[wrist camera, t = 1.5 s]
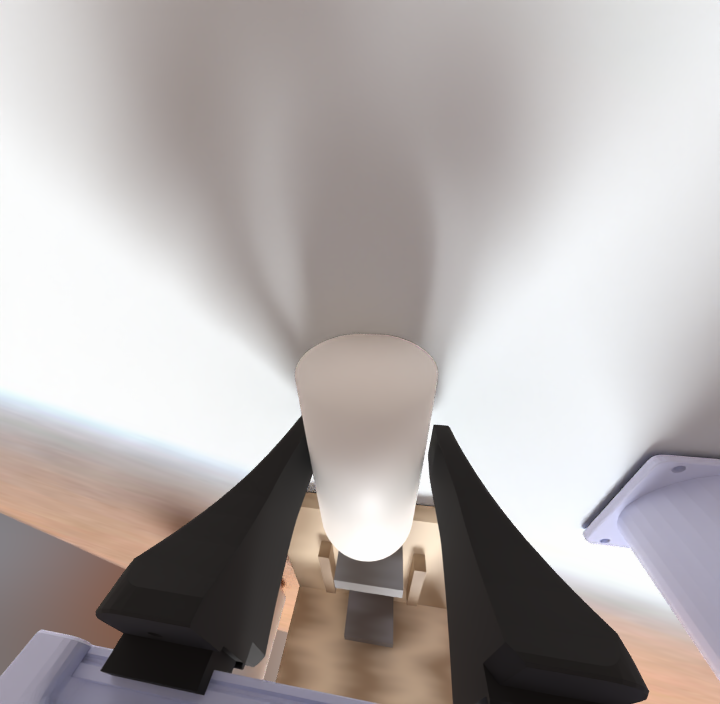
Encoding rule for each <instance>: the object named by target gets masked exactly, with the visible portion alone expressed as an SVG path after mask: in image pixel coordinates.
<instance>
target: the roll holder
mask: <svg viewBox="0 0 720 704" xmlns="http://www.w3.org/2000/svg"><path fill="white" fill-rule="evenodd" d="M288 556H289V559H290V561H291V564H292V567H293V569H294V572H295V575H296V577H297V580H298V583H299V585H300V587H299V591H298V595H297V599H296V603H295V607H294V611H293V615H292V619H291V623H290V627H289V631H288V635H287V639H286V643H285V647H284V651H283V655H282V659H281V663H280V667H279V671H278V675H277V679H276V683H280V684H285V685H290V686H295V687H300V688H305V689H310V690H315V691H319V692H324V693H329V694H334V695H339V696H344V697H349V698H354V699H359V700H363V701H368V702H373V703H378V704H453V699H452V682H451V665H450V649H449V633H448V620H447V606H446V594H445V582H444V570H443V559H442V549H441V541H440V534H439V528H438V522H437V517H436V511H435V507H433V506H424V505H416V506H415V512H414V517H413V523H412V527H411V530H410V533H409V535H408V537H407V539H406V541H405V542H404V543H403V545H402V546H401V547H400V548H399V549H398V550H397V551H396V552H395V553H393V554H392V555H390V556H388V557H386V558H384V559H381V560H377V561H370V562H369V561H359V560H355V559H352V558H350V557H348V556H346V555H344V554H343V553H341V552H340V551H339V550H337V549H336V547H335V546H334V545H333V544H332V543H331V541H330V540H329V538H328V537H327V535H326V533H325V530H324V527H323V523H322V518H321V513H320V508H319V502H318V497H317V493H310V492H306V494H305V497H304V500H303V503H302V506H301V508H300V511H299V514H298V517H297V520H296V524H295V527H294V531H293V535H292V539H291V543H290V547H289V550H288Z"/></svg>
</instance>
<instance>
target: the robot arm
mask: <svg viewBox="0 0 720 704" xmlns="http://www.w3.org/2000/svg"><path fill="white" fill-rule="evenodd" d="M428 461H429V475H430V483H431V488H432V494H433V500H434V505H435V511H436V517H437V522H438V528H439V534H440V541H441V549H442V559H443V570H444V582H445V594H446V606H447V620H448V633H449V649H450V665H451V682H452V699H453V704H633V703H637V702H641V701H643V700H646V699H647V697H648V693H649V690H648V688H647V686H646V684H645V683H644V681H643V679H642V677H641V675H640V673H639V671H638V669H637V667H636V665H635V663H634V661H633V659H632V658H631V656H630V654H629V652H628V651H627V649H626V647H625V646H624V644H623V642H622V641H621V639H620V637H619V636H618V634H617V633H616V632H615V631H614V630H613V629H612V628H611V627H610V626H609V625H608V624H607V623H606V622H605V621H604V620H603V619H602V618H601V617H600V616H598V615H597V614H596V613H595V612H594V611H593V610H592V609H591V608H590V607H589V606H588V605H587V604H586V603H585V602H584V601H583V600H582V599H581V598H580V597H579V596H578V595H577V594H576V593H575V592H574V591H573V590H572V589H571V588H570V587H569V586H568V585H567V584H566V583H565V581H564V580H563V579H562V578H561V577H560V576H559V575H558V574H557V573H556V572H555V571H554V570H553V569H552V568H551V567H550V566H549V565H548V563H547V562H546V561H545V560H544V559H543V558H542V557H541V556H540V555H539V553H538V552H537V551H536V550H535V549H534V548H533V547H532V546H531V545H530V543H529V542H528V541H527V540H526V539H525V538H524V537H523V535H522V534H521V533H520V532H519V531H518V529H517V528H516V527H515V526H514V525H513V523H512V522H511V521H510V520H509V518H508V517H507V516H506V515H505V513H504V512H503V511H502V509H501V508H500V507H499V505H498V504H497V503H496V501H495V500H494V499H493V497H492V496H491V495H490V493H489V492H488V490H487V489H486V487H485V486H484V485H483V483H482V482H481V480H480V479H479V477H478V476H477V474H476V473H475V471H474V469H473V468H472V466H471V465H470V463H469V461H468V460H467V458H466V456H465V455H464V453H463V451H462V450H461V448H460V446H459V444H458V443H457V441H456V439H455V437H454V435H453V433H452V431H451V429H450V427H449V426H444V425H434V426H433V431H432V436H431V442H430V447H429V452H428ZM312 474H313V471H312V465H311V460H310V455H309V449H308V444H307V439H306V434H305V428H304V423H303V418H302V416H301V417H300V418H299V419H298V420H297V422H296V423H295V424H294V425H293V427H292V428H291V429H290V430H289V431H288V432H287V434H286V435H285V436H284V437H283V438H282V439H281V441H280V442H279V443H278V444H277V445H276V446H275V447H274V448H273V449H272V451H271V452H270V453H269V454H268V455H267V456H266V457H265V458H264V459H263V460H262V461H261V462H260V463H259V464H258V465H257V466H256V467H255V468H254V469H253V470H252V471H251V472H250V473H249V474H248V475H247V476H246V477H245V478H244V479H242V480H241V481H240V482H239V483H238V484H237V485H236V486H235V487H233V488H232V489H231V490H230V491H229V492H227V493H226V494H225V495H224V496H223V497H221V498H220V499H219V500H218V501H217V502H215V503H214V504H213V505H212V506H210V507H209V508H208V509H206V510H205V511H204V512H202V513H201V514H200V515H198V516H197V517H195V518H194V519H193V520H191V521H190V522H189V523H187V524H186V525H185V526H183V527H182V528H180V529H179V530H177V531H176V532H175V533H173V534H172V535H170V536H169V537H167V538H166V539H164V540H162V541H161V542H159V543H158V544H156V545H155V546H153V547H152V548H150V549H149V550H147V551H146V552H144V553H142V554H141V555H139V556H138V557H136V558H134V560H133V561H132V562H131V563H130V565H129V566H128V567H127V569H126V570H125V571H124V572H123V574H122V575H121V577H120V578H119V579H118V581H117V582H116V584H115V585H114V586H113V588H112V589H111V591H110V592H109V593H108V595H107V596H106V597H105V599H104V600H103V602H102V603H101V604H100V606H99V607H98V609H97V610H96V616H97V618H98V619H100V620H101V621H103V622H105V623H106V624H108V625H110V626H112V627H114V628H115V629H117V630H119V631H121V632H122V633H123V635H122V637H121V638H120V640H119V641H118V643H117V645H116V647H115V648H114V649H109V648H104V647H99V646H94V645H91V643H90V642H88V641H86V640H84V639H81V638H78V637H75V636H71V635H66V634H61V633H56V632H51V631H46V630H40V631H38V632H37V633H36V634H35V635H34V636H33V638H32V639H31V640H30V641H29V643H28V644H27V645H26V646H25V647H24V649H23V650H22V651H21V652H20V653H19V655H18V656H17V657H16V658H15V659H14V661H13V662H12V663H11V664H10V666H9V667H8V668H7V669H6V670H5V672H4V673H3V674H2V675H1V676H0V704H378V703H373V702H368V701H363V700H359V699H354V698H349V697H344V696H339V695H334V694H329V693H324V692H319V691H315V690H310V689H305V688H300V687H295V686H290V685H285V684H280V683H275V682H271V681H266V680H261V679H256V678H251V677H246V676H241V675H236V674H232V671H233V668H235V669H240V670H243V669H244V667H245V665H246V666H251V667H255V666H256V665H258V664H259V663H260V662H261V661H262V659H263V658H264V657H265V655H266V650H267V645H268V640H269V635H270V630H271V625H272V621H273V616H274V611H275V606H276V602H277V597H278V593H279V589H280V584H281V580H282V575H283V571H284V567H285V563H286V559H287V555H288V550H289V547H290V543H291V539H292V535H293V531H294V527H295V524H296V520H297V517H298V514H299V511H300V508H301V506H302V503H303V500H304V497H305V494H306V491H307V488H308V486H309V483H310V480H311V477H312ZM583 536H584V537H585V539H586V541H588V542H589V543H595V544H603V545H611V546H619V547H627V548H631V549H632V551H633V552H634V554H635V555H636V557H637V558H638V560H639V561H640V563H641V564H642V566H643V567H644V569H645V570H646V572H647V573H648V575H649V576H650V578H651V579H652V581H653V582H654V584H655V585H656V587H657V588H658V590H659V591H660V593H661V594H662V596H663V597H664V599H665V600H666V602H667V603H668V605H669V606H670V608H671V609H672V611H673V612H674V614H675V615H676V617H677V618H678V620H679V621H680V623H681V624H682V626H683V627H684V629H685V630H686V632H687V633H688V635H689V636H690V638H691V639H692V641H693V642H694V644H695V645H696V647H697V648H698V650H699V651H700V653H701V654H702V656H703V657H704V659H705V660H706V662H707V663H708V665H709V666H710V668H711V669H712V671H713V672H714V674H715V675H716V677H717V678H718V680H719V681H720V459H712V458H700V457H687V456H675V455H656V456H653V457H651V458H650V459H649V460H648V461H647V462H646V463H645V464H644V465H643V466H642V467H641V468H640V469H639V471H638V472H637V473H636V474H635V475H634V476H633V477H632V478H631V479H630V481H629V482H628V483H627V484H626V485H625V486H624V487H623V488H622V489H621V491H620V492H619V493H618V494H617V495H616V496H615V497H614V498H613V499H612V501H611V502H610V503H609V504H608V505H607V506H606V507H605V508H604V509H603V511H602V512H601V513H600V514H599V515H598V516H597V517H596V518H595V519H594V521H593V522H592V523H591V524H590V525H589V526H588V527H587V528H586V529H585V531H584V532H583Z"/></svg>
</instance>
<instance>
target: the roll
mask: <svg viewBox="0 0 720 704" xmlns="http://www.w3.org/2000/svg"><path fill="white" fill-rule="evenodd" d="M295 381H296V386H297V391H298V397H299V402H300V407H301V413H302V418H303V423H304V428H305V434H306V439H307V444H308V449H309V455H310V460H311V465H312V471H313V476H314V481H315V486H316V492H317V497H318V502H319V508H320V513H321V518H322V523H323V527H324V530H325V533H326V535H327V537H328V538H329V540H330V541H331V543H332V544H333V545H334V546H335V547H336V549H337V550H339V551H340V552H341V553H343V554H344V555H346V556H348V557H350V558H352V559H355V560H359V561H369V562H370V561H377V560H381V559H384V558H386V557H388V556H390V555H392V554H393V553H395V552H396V551H397V550H398V549H399V548H400V547H401V546H402V545H403V543H404V542H405V541H406V539H407V537H408V535H409V533H410V530H411V527H412V523H413V517H414V512H415V506H416V500H417V494H418V489H419V483H420V477H421V472H422V466H423V460H424V455H425V449H426V443H427V437H428V432H429V426H430V420H431V415H432V409H433V403H434V398H435V392H436V386H437V381H438V369H437V366H436V363H435V361H434V360H433V358H432V357H431V356H430V355H429V354H428V353H427V352H426V351H425V350H424V349H422V348H421V347H419V346H418V345H416V344H414V343H412V342H410V341H407V340H405V339H402V338H399V337H395V336H391V335H381V334H349V335H343V336H339V337H335V338H332V339H329V340H326V341H324V342H321V343H320V344H318V345H316V346H314V347H313V348H311V349H310V350H309V351H307V352H306V353H305V354H304V355H303V356H302V357H301V359H300V360H299V362H298V364H297V366H296V370H295Z"/></svg>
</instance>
